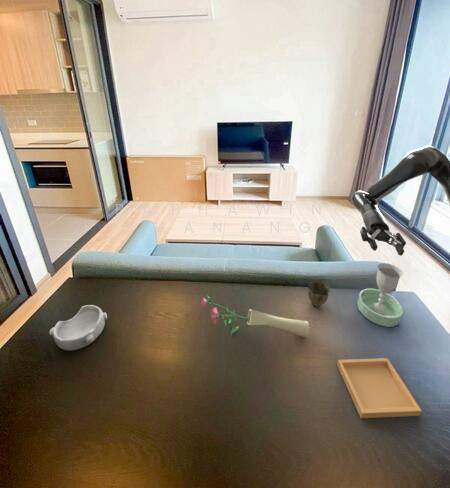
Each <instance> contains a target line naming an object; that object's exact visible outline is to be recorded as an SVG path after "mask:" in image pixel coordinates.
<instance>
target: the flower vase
mask: <svg viewBox="0 0 450 488" xmlns="http://www.w3.org/2000/svg"><path fill="white" fill-rule="evenodd" d="M206 297H207V298H205V297H203V298H202V299H201V302H200V305H201V306H202V307H207V304H208V305H216V306H215V307H213V308H212V309H211V311H210V319H211V322H212V323H213V324H214V325H215V324H216V323H217V321H220V319H219V317H220V316H221V317H222V319H224V318H225V317H226V318H227V319H224V321H223V323H224V325H225V326H227V323H228V324H231V323H232V322H234V323H233V324H232V329H231V332H230V336H232V335H233V334H234V333H235V332H236V331H237V330H238V329H239V328H240V327H243V325H245V324H247V325H248V326H257V327H262V328H270V329H274V330H279V331H281V332H285V333H290V334H293V335H295V336H298V337H301V338H304V339H305V338H306V339H307V338H309V336H310V330H311V329H310V323H309V321H308V320H300V319H295V318H294V319H292V318H286V317H281V316H275V315H273V314H269V313H265V312H261V311H258V310H255V309H251V308H248V313H247V317H246V316H242V315H238V314H237V313H235V311H231V310H229V306H226V307H224V306H222V305H220V304H218V303H215V302H214V301H213V300H212V298H211V297H210V296H209V295H208V293H207V292H206ZM217 306H218V307H219V308H222V309H224V310H226V312H227V313H230V314H223V313H221V314H220V312H219V310H218V308H217ZM234 318H235V319H234ZM238 319H247V320H246V321H245V322H244V323H243V325H242V324H240V325H237V326H235V323H236V322H235V321H236V320H238ZM227 321H228V322H227Z"/></svg>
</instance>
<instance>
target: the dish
mask: <svg viewBox="0 0 450 488" xmlns="http://www.w3.org/2000/svg"><path fill="white" fill-rule="evenodd" d="M107 319H108V313H107V312H103V310H102V309H101V308H100V307H99V306H97V305H94V304H87V305H83V306H81V307H80V309H79V310H78V312H77V313H76V314H75V315H74V316H73V317H72V318H70V319H68V320H59V321H57V322H56V324H55V326H53V327H52V328H50V330H49V336H50V337H53V340H54V342H55V345H56V346H58V348H59V349H60V350H64V351H75V350H79V349H82V348H84V347H86V346H88V345H90V344H92V343H93V342H94V341H95V340H96V339H98V337H99V336H100V335H101V334H102V331H103V330H104V328H105V324H106V320H107Z"/></svg>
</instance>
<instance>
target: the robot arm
mask: <svg viewBox="0 0 450 488" xmlns="http://www.w3.org/2000/svg"><path fill="white" fill-rule="evenodd" d="M425 175H430V176H431V177H432V178H433V179H434V180H436V181H437V183H438V184H439V185H440V186H441V187H442V188H443V189H442V190H443V191H444V193H445V196H446V198H447V200H448V203H449V204H450V159H449V157H448V156H447V154H445V153H444V152H443V151H442V150H441V149H439V148H437V147H435V146H423V147H420V148H417V149H414V150H411V151H409V152H407V153H406V155H405V156H404V157H403V158H402V159H401V160H400V161H399V162H398V163H397V164H396V165H395V166H394V167H393V168H392V169H391V170H390V171H389V172H388V173H387V174H385V175H384V176H382V177H381V178H379V179H378V180H377V181H375V182H373V183H372V184H371V185H370V186H368V187H367V190H366V191H363V190H357V191H354V192H353V193H352V195H351V203H352V206H354V208H355V209H356V210H357V211H358V212H359V213H360V214H361V217H362V221H363V224H364V226H362V227H361V229H360V231H359V233H360V236H361V240H362V242H364V243H365V242H367V243H368V244H369V247H370V249H372V251H373V252H376V251H377V249H378V248H379V247H378V244H377V242H383V243H386V244H388V245H389V246H393V247H394V248H395V251H396V253H397V255H398V256H401V257H402V256H403V255H404V253H405V249H404V248H405V246H406V245H407V241H406V240H405V239H404V237H403V236H402V235H401V233H400V232H396V233H393V232H391V231H390V227H389V224H388V222H387V221H386V219H385V217H384V215H383V214H382V213H381V211H380V209H379V207H378V204H379V203H380V202H381V201H382V199H384V198H386V197H387V196H389V195H391V194H392V193H393V192H395V191H396V190H397V189H398V188H399V187H400V186H401V185H402V184H404V183H406V182H408V181H410V180H413V179H415V178H418V177H420V176H425ZM376 241H377V242H376Z"/></svg>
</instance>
